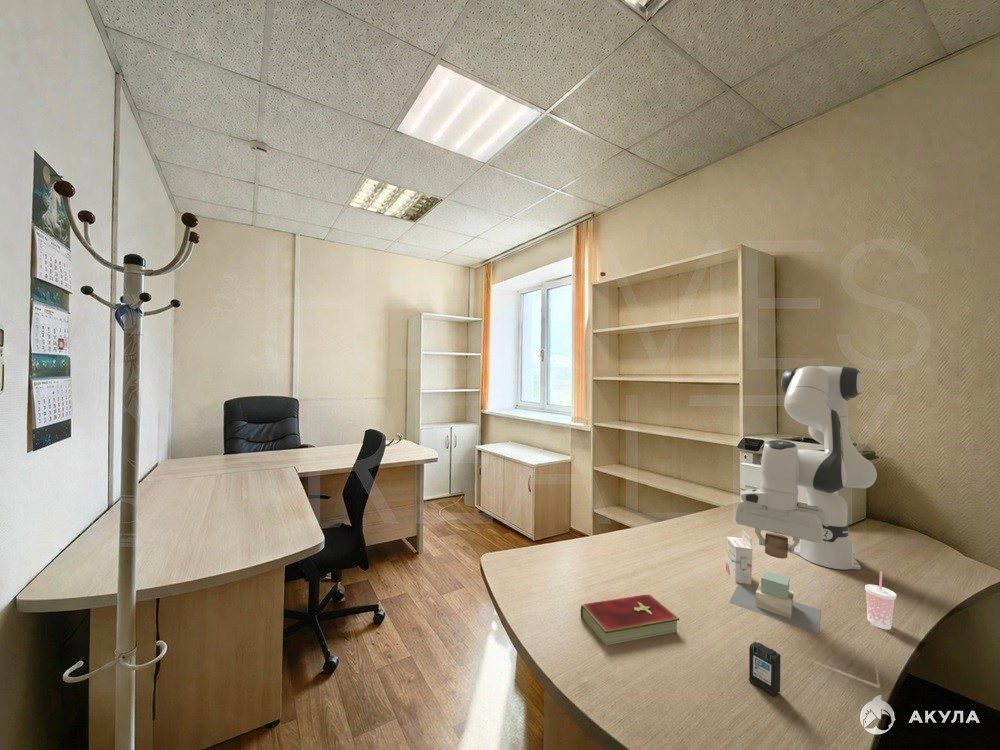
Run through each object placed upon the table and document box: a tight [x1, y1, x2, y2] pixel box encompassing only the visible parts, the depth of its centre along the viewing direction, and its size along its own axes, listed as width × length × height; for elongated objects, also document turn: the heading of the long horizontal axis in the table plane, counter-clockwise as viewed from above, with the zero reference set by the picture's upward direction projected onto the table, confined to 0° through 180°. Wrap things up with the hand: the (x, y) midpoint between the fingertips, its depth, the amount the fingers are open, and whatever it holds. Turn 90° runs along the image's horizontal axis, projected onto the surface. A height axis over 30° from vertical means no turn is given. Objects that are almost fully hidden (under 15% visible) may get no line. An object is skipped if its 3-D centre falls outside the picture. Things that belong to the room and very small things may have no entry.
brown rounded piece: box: [764, 532, 789, 559], centre depth 112 cm, size 5×5×5 cm
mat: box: [728, 583, 822, 635], centre depth 112 cm, size 14×20×1 cm
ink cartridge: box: [748, 641, 781, 697], centre depth 83 cm, size 5×2×8 cm, turn 32°
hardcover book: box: [580, 593, 680, 646], centre depth 103 cm, size 12×21×4 cm, turn 107°
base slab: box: [756, 580, 795, 618], centre depth 112 cm, size 8×8×4 cm
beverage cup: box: [864, 570, 897, 630], centre depth 107 cm, size 6×6×14 cm
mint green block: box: [760, 569, 791, 600], centre depth 112 cm, size 6×6×4 cm
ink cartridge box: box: [725, 529, 753, 585], centre depth 129 cm, size 9×5×15 cm, turn 168°
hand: (776, 548), depth 112 cm, fingers closed on brown rounded piece, 5 cm apart
